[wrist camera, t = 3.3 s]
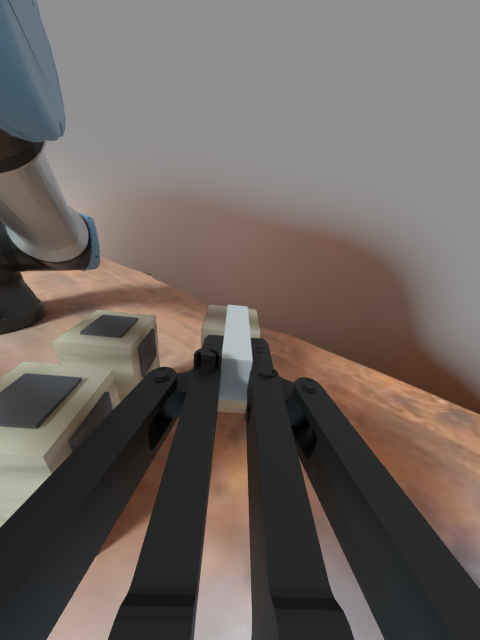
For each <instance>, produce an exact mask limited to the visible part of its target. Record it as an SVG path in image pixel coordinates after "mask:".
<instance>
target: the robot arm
mask: <svg viewBox="0 0 480 640" xmlns="http://www.w3.org/2000/svg"><path fill="white" fill-rule="evenodd" d="M64 130H65V113H64V105H63V99H62V94H61V89H60V85H59V80H58V75H57V71H56V67H55V63H54V59H53V55H52V51H51V48H50V44H49V41H48V38H47V36H46V32H45V29H44V27H43V23H42V21H41V19H40V13H39V8H38V4H37V0H0V334H2V333H6V332H10V331H14V330H17V329H21V328H23V327H26V326H29V325H31V324H33V323H35V322H37V321H39V320H40V319H41V318H43V317H44V315H45V313H46V312H45V309H44V306H43V303H42V302H41V301H40V300H39V299H37V297H36V296H35V294H34V293H33V292H32V290H31V289H30V288H29V287H28V286H27V284H26V283H25V282H24V280H23V277H22V275H21V271H64V270H82V271H86V270H91V269H96V268H98V267H99V265H100V255H99V253H100V251H99V242H98V236H97V230H96V226H95V223H94V221H93V219H92V218H91V217H90V216H87V215H83V214H78V213H77V212H76V211H75V210H73V209H72V208H71V207H69V206H68V205H67V203H66V201H65V199H64V197H63V194H62V192H61V190H60V188H59V185H58V183H57V181H56V179H55V177H54V174H53V172H52V170H51V168H50V166H49V163H48V161H47V159H46V157H45V155H44V153H43V150H44V148H45V145H46V143H47V141H55V140H57V139H58V138H59V137H61V136H63V134H64ZM246 398H247V406H246V412H245V418H244V420H246V432H247V464H248V496H249V528H250V560H251V592H252V639H251V640H354V638H353V635H352V631H351V628H350V625H349V623H348V621H347V618H346V616H345V614H344V611H343V610H342V608H341V607H340V606H339V604H338V603H337V601H336V600H335V599H334V596H333V594H332V592H331V588H330V585H329V582H328V577H327V573H326V569H325V565H324V561H323V557H322V553H321V548H320V544H319V540H318V536H317V532H316V528H315V524H314V519H313V515H312V511H311V507H310V503H309V499H308V495H307V490H306V486H305V482H304V478H303V474H302V470H301V466H300V461H299V458H300V460H301V462H302V465H303V467H304V469H305V471H306V473H307V475H308V477H309V479H310V482H311V484H312V486H313V488H314V490H315V492H316V494H317V496H318V499H319V501H320V503H321V505H322V507H323V509H324V511H325V514H326V516H327V518H328V520H329V522H330V524H331V526H332V528H333V531H334V533H335V535H336V537H337V539H338V541H339V543H340V545H341V548H342V550H343V552H344V554H345V556H346V558H347V560H348V562H349V565H350V567H351V569H352V571H353V573H354V575H355V577H356V580H357V582H358V584H359V586H360V588H361V590H362V592H363V594H364V597H365V599H366V601H367V603H368V605H369V607H370V609H371V611H372V614H373V616H374V618H375V620H376V622H377V624H378V626H379V629H380V631H381V633H382V635H383V637H384V639H385V640H480V589H479V588H478V586H477V585H476V584H475V583H474V581H473V580H472V579H471V577H470V576H469V575H468V574H467V572H466V571H465V570H464V568H463V567H462V566H461V565H460V563H459V562H458V561H457V559H456V558H455V557H454V556H453V554H452V553H451V552H450V550H449V549H448V548H447V547H446V545H445V544H444V543H443V541H442V540H441V539H440V538H439V536H438V535H437V534H436V533H435V531H434V530H433V529H432V527H431V526H430V525H429V524H428V522H427V521H426V520H425V518H424V517H423V516H422V515H421V513H420V512H419V511H418V509H417V508H416V507H415V506H414V504H413V503H412V502H411V500H410V499H409V498H408V497H407V495H406V494H405V493H404V491H403V490H402V489H401V488H400V486H399V485H398V484H397V482H396V481H395V480H394V479H393V477H392V476H391V475H390V474H389V472H388V471H387V470H386V468H385V467H384V466H383V465H382V463H381V462H380V461H379V459H378V458H377V457H376V456H375V454H374V453H373V452H372V450H371V449H370V448H369V447H368V445H367V444H366V443H365V441H364V440H363V439H362V438H361V436H360V435H359V434H358V432H357V431H356V430H355V429H354V427H353V426H352V425H351V424H350V422H349V421H348V420H347V418H346V417H345V416H344V415H343V413H342V412H341V411H340V409H339V408H338V407H337V406H336V404H335V403H334V402H333V400H332V399H331V398H330V397H329V395H328V394H327V393H326V391H325V390H324V389H323V388H322V386H321V385H320V384H319V383H318V382H316V381H315V380H313V379H310V378H306V377H301V378H298V379H297V380H296V381H295V383H294V382H291V381H288V380H285V379H283V378H281V377H279V375H278V373H277V371H276V370H275V369H274V368H273V364H272V360H271V355H270V351H269V346H268V343H267V342H266V341H265V340H264V339H261V338H251V337H250V327H249V316H248V307H247V306H235V305H228V308H227V316H226V324H225V332H224V336H221V335H210V334H209V335H208V336H207V337H205V338H204V342H203V345H202V348H201V349H199V350H197V351H196V352H195V353H194V369H192V370H190V371H188V372H184V373H178V374H176V371H175V370H174V369H172V368H170V367H159V368H156V369H153V370H152V371H150V372H149V373H148V374H147V375H146V376H145V377H144V378H143V379H142V380H141V381H140V382H139V383H138V384H137V385H136V386H135V388H134V389H133V390H132V391H131V392H130V393H129V394H128V395H127V396H126V397H125V398H124V399H123V400H122V401H121V402H120V403H119V404H118V405H117V406H116V407H115V408H114V409H113V410H112V411H111V413H110V414H109V415H108V416H107V417H106V418H105V419H104V420H103V421H102V422H101V423H100V424H99V425H98V426H97V427H96V428H95V429H94V430H93V431H92V432H91V433H90V434H89V435H88V436H87V438H86V439H85V440H84V441H83V442H82V443H81V444H80V445H79V446H78V447H77V448H76V449H75V450H74V451H73V452H72V453H71V454H70V455H69V456H68V457H67V458H66V459H65V460H64V461H63V463H62V464H61V465H60V466H59V467H58V468H57V469H56V470H55V471H54V472H53V473H52V474H51V475H50V476H49V477H48V478H47V479H46V480H45V481H44V482H43V483H42V484H41V485H40V486H39V488H38V489H37V490H36V491H35V492H34V493H33V494H32V495H31V496H30V497H29V498H28V499H27V500H26V501H25V502H24V503H23V504H22V505H21V506H20V507H19V508H18V509H17V510H16V511H15V513H14V514H13V515H12V516H11V517H10V518H9V519H8V520H7V521H6V522H5V523H4V524H3V525H2V526H1V527H0V640H46V639H47V638H48V636H49V634H50V633H51V631H52V629H53V628H54V626H55V624H56V623H57V621H58V619H59V617H60V616H61V614H62V612H63V611H64V609H65V607H66V606H67V604H68V602H69V601H70V599H71V597H72V596H73V594H74V592H75V590H76V589H77V587H78V585H79V584H80V582H81V580H82V579H83V577H84V575H85V574H86V572H87V570H88V569H89V567H90V565H91V564H92V562H93V560H94V558H95V557H96V555H97V553H98V552H99V550H100V548H101V547H102V545H103V543H104V542H105V540H106V538H107V537H108V535H109V533H110V531H111V530H112V528H113V526H114V525H115V523H116V521H117V520H118V518H119V516H120V515H121V513H122V511H123V510H124V508H125V506H126V504H127V503H128V501H129V499H130V498H131V496H132V494H133V493H134V491H135V489H136V488H137V486H138V484H139V483H140V481H141V479H142V478H143V476H144V474H145V472H146V471H147V469H148V467H149V466H150V464H151V462H152V461H153V459H154V457H155V456H156V454H157V452H158V451H159V449H160V447H161V445H162V444H163V442H164V440H165V439H166V437H167V435H168V434H169V432H170V430H171V429H172V427H173V425H174V424H175V422H176V420H177V418H178V417H180V418H179V421H178V424H177V428H176V431H175V435H174V438H173V442H172V445H171V449H170V452H169V456H168V459H167V463H166V466H165V469H164V473H163V476H162V480H161V483H160V487H159V490H158V494H157V497H156V501H155V504H154V508H153V511H152V515H151V518H150V521H149V525H148V528H147V532H146V535H145V539H144V542H143V546H142V549H141V553H140V556H139V560H138V563H137V566H136V570H135V573H134V577H133V580H132V583H131V586H130V589H129V591H128V594H127V595H126V597H125V599H124V600H123V602H122V604H121V606H120V608H119V610H118V613H117V615H116V618H115V620H114V623H113V626H112V629H111V632H110V635H109V638H108V640H194V629H195V619H196V609H197V600H198V591H199V581H200V572H201V562H202V553H203V543H204V534H205V524H206V515H207V505H208V496H209V487H210V477H211V468H212V458H213V449H214V439H215V430H216V420H217V411H218V400H232V401H246ZM298 456H299V457H298Z"/></svg>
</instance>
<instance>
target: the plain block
mask: <svg viewBox="0 0 480 640" xmlns="http://www.w3.org/2000/svg"><path fill="white" fill-rule="evenodd" d="M227 308H228V307H226V306H216V305H209V307H208V310H207V313H206V316H205V319H204V322H203V325H202V329H201V348H202V345H203V342H204V338H205V337H207V336H208V335H209V334H210V335H221V336H224V332H225V324H226V316H227ZM248 316H249V327H250V337H251V338H260V328H259V323H258V317H257V311H256V309H248ZM246 406H247V398H246V401H232V400H218V411H217V412H228V413H242V414H245V412H246Z"/></svg>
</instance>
